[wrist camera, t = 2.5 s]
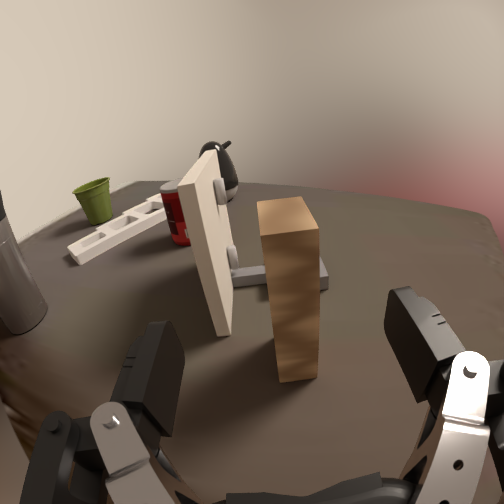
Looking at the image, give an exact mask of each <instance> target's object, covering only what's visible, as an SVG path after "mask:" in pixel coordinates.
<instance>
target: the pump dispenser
mask: <svg viewBox="0 0 504 504" xmlns="http://www.w3.org/2000/svg"><path fill="white" fill-rule="evenodd" d="M230 144H231V141H227V142H226V143H224V144H222V145H220V144H219V143H217V142H214V141H212V142H208V143H206V144H205V145H204V146H203V147H202V149H201V151H200V154H199V158H200V157H201V156H202V155H203V153H204V152H205V151H208V150H214V149H216V151H217V157H218V163H219V169H220V174H221V178H223V180H224V186H225V191H226V197H227V201H228V200H230V199H232V198H233V197H234V195H235V194H236V192H237V185H238V178H237V174H236V171H235V168H234V165H233V163H232V161H231V159H230V157H229V155H228V153H227V152H226V150H225V149H226V148H227V147H228V146H229V145H230ZM199 158H198V159H199Z"/></svg>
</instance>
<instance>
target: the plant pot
mask: <svg viewBox="0 0 504 504" xmlns="http://www.w3.org/2000/svg"><path fill="white" fill-rule="evenodd" d="M109 180H110V178H109V177H105V178H102V179H97V180H94V181H92V182H89V183H87V184H85V185H82V186H80V187H79V188H77V189H75V190H74V191H73V192H72V193H73V194H75V196H76V198H77V200H78V201H79V202H80V204H81V206H82V208H83V210H84V212H85V214H86V216H87V218H88V220H89V222H90V223H91V225H97V224H98V223H100V224H101V223H104V222H106V221H108V220H109V219H110V218H111V217H112V216H113V214H112V207H111V201H110V193H109Z"/></svg>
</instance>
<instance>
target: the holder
mask: <svg viewBox="0 0 504 504" xmlns="http://www.w3.org/2000/svg"><path fill="white" fill-rule="evenodd" d="M152 209H159V210H157V211H155V212H153V213H151V214H144V213H146V212H148V211H150V210H152ZM122 214H123V215H122V216H120V217H118V218H116V219H114V220H112V221H109V222H107V223H105V224H103V225H102V226H100V227H98V228H96V232H94V233H92V234H90V235H88V236H86V237H84V238H82V239H80V240H78V241H77V242H75V243H73V244H71V245H69V246H68V247H67V248H68V250H69V253H70V255H71V257H72V258H73V259H74V260H75V261H76V262H77V263H78V264H79V265H82V264H83V263H85V262H87V261H89V260H90V259H92V258H94V257H96V256H97V255H99V254H101V253H103V252H105V251H106V250H108V249H110V248H112V247H114V246H116V245H117V244H119V243H121V242H123V241H125V240H127V239H129V238H130V237H132V236H134V235H136V234H138V233H140V232H142V231H144V230H146V229H148V228H150V227H152V226H154V225H156V224H158V223H159V222H161V221H163V220H165V219H167V217H166V213H165V209H164V206H163V202H162V198H161V193H159V194H157V195H155V196H152V197H150V198H148V199H146V202H144V203H142V204H140V205H138V206H135V207H133V208H131V209H129V210H127V211H125V212H123V213H122ZM124 226H125V227H124ZM122 227H123V228H122ZM120 228H121V229H120ZM118 229H119V230H118Z"/></svg>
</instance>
